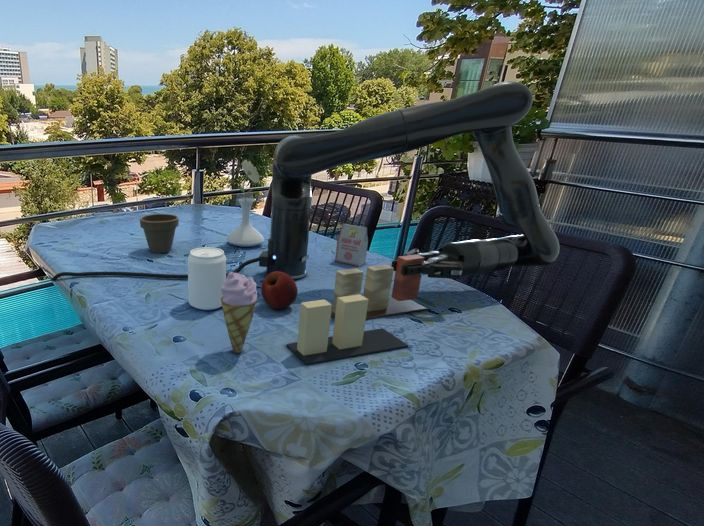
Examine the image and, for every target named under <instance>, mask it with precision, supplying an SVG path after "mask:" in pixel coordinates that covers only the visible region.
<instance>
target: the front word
mask: <svg viewBox="0 0 704 526" xmlns="http://www.w3.org/2000/svg"><path fill="white" fill-rule="evenodd" d="M368 300H369V299H367V298H366V297H364V296H363V294H361V293H360V294H358V295H351V296H344V297H337V305H336V314H335V318H334V324H333V331H332V336H329V333H330V328H331V327H330V326H331V325H330V324H331V318H332V316H331V309H332V306H333V303H332V304H331V303H330V301H327V300H326V299H324V298H323V299H317V300H310V301H302V302H300V306H299V307H300V308H299V319H298V331H297V342H291V343H286V347H287V348H288V349H289V350H290V351H291V352H292V353H293V354H294V355H295V356H296V357H297V358H298V359H299V360H300V361H302V363H303V364H304V365H306V366H310V365H314V364H315V365H316V364H320V363H325V362H331V361H337V360H342V359H349V358H354V357H361V356H365V355H371V354H376V353H382V352H389V351H395V350H398V349H399V350H400V349H407V348H409V344H407V343H406V342H404V341H402V340H401V339H400V338H398V337H396V336H395V335H393V334H392V333H390V332H389V331H387V330H386V329H384V328H376V329H369V330H365V327H366V321H367V319H366V314H367V307H368Z"/></svg>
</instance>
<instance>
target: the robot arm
mask: <svg viewBox="0 0 704 526" xmlns="http://www.w3.org/2000/svg"><path fill="white" fill-rule="evenodd" d="M533 102H534V96H533V92H532V91H531V89H530V88H529V87H528V86H527V85H525V84H524V83H521V82H518V81H513V80H509V81H507V80H505V81H500V82H498V83H495V84H493V85H490V86H488V87H485V88H483V89H479V90H477V91H473V92H471V93H468V94H465V95H463V96H459V97H455V98H452V99H447V100H441V101H435V102H429V103H424V104H418V105H414V106H409V107H404V108H399V109H396V110H391V111H387V112H384V113H380V114H377V115H374V116H371V117H368V118H366V119H364V120H360V121H359V122H357V123H354V124H352V125H350V126H347V127H345V128H343V129H340V130H337V131H333V132H329V133H324V134H318V135H312V136H301V135H298V134H297V135H296V134H295V135H289V136H286V137H284V138H283V139H281V140H280V141H279V142H278V143H277V145H276V146H275V148H274V152H273V156H272V175H271V212H270V230H269V237H268V241H267V250H263V251H261V253H260V255H259V256H258V257H255V258H252V259H249V260H245V261H244V262H242V263H241V264H240V265H239V266H238V267H237V268H236V269H235V270H233V271H232V272H233V273H238V274H240V272H241V271H242V269H243V268H245V267H247V266H248V265H251V264H255V263H258V267H260V268H266V276H267V275H268V274H269V273H271V272H274V271H279V272H284V273H286V274H288V275H289V276H290V277H291V278H292V279H293V280H299V279H303V278H305V276H306V274H307V260H309V258H310V253H309V254H308V247H309V237H310V236H309V235H310V223H311V213H312V202H313V201H312V199H313V198H312V197H313V196H312V195H313V194H312V175H315V174H318V173H321V172H324V171H328V170H330V169H333V168H337V167H341V166H345V165H349V164H355V163H362V162H367V161H368V162H369V161H374V160H379V159H384V158H389V157H392V156H398V155H402V154H406V153H409V152H412V151H415V150H418V149H423V148H425V147H427V146H431V145H433V144H437V143H438V142H441V141H444V140H446V139H449V138H452V137H455V136H458V135H462V134H468V133H473V136H474V137H475V141H476V142H477V144H478V146H479V149H480V151H481V155H482V156H483V159H484V162H485V164H486V167H487V170H488V172H489V175H490V179H491V182H492V186H493V188H494V195H495V197H496V202H497V206H498V211H499V214H500V218H501V222H502V224H503V225H504V226H506V227H510V228H516V229H517V230H519V231H520V232H521V233H522V234H516V235H514V234H513V235H509V236H504V237H503V236H502V237H496V238H495V237H494V238H488V239H470V240H462V241H454V242H447V243H445V244H444V245H441V247H440V248H439V249H438V250H429V251H428V252H427V251H426V252H420V249H419V248H412V249H411V250H409V251H407V252H405V253H403V255H402V256H408V255H415V254H417V255H419V256H422V257H424V258H425V259H424V262H420V263H412V264H404V265H402V268H401V275H404V276H407V275H414V274H419V275H421V276H426V275H427V278H430V279H457V280H459V279H462V278H467V277H472V276H474V277H475V276H479V275H484V274H486V273H492V272H499V271H505V270H507V269H509V268H511V267H544V266H548V265H551V264H553V263H554V262H555V261H556V260H557V258H558V257H559V254H560V249H561V247H560V241H559V239H558V236H557V234H556V233H555V231H554V229H553V228H552V226H551V225H550V223H549V221H548V220H547V217H546V216H545V215H544V213H543V212H542V210H541V205H540V199H539V195H538V191H537V188H536V184H535V181H534V179H533V176H532V175H531V173H530V171H529V169H528V168H527V166H526V164H525V162H524V161H523V159H522V158H521V156H520V155H519V152H518V149H517V147H516V145H515V142H514V137H513V130H512V127H513V126H515V125H517V124H518V123H519V122H520V121H522V120H523V119H524V118H525V117H526V116H527V114H528V113H529V112H530V110H531V108H532V106H533ZM396 265H397V259H393V260H392V261H391V265H390V266H391V267H393V268H394V271H393V272H395V271H396ZM229 273H230V272H226V276H228V274H229ZM65 276H66V277H89V276H91V277H92V276H119V277H120V276H123V277H140V278H155V279H156V278H157V279H158V278H159V279H183V280H185V279H186V280H188V274H173V273H172V274H171V273H170V274H169V273H152V272H151V273H150V272H133V271H84V272H83V271H82V272H73V271H61V272H58V273H56V274H55V275H53V276H52V278H51V279H50V281H51V282H55V281H57V279H59V278H61V277H65Z"/></svg>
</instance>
